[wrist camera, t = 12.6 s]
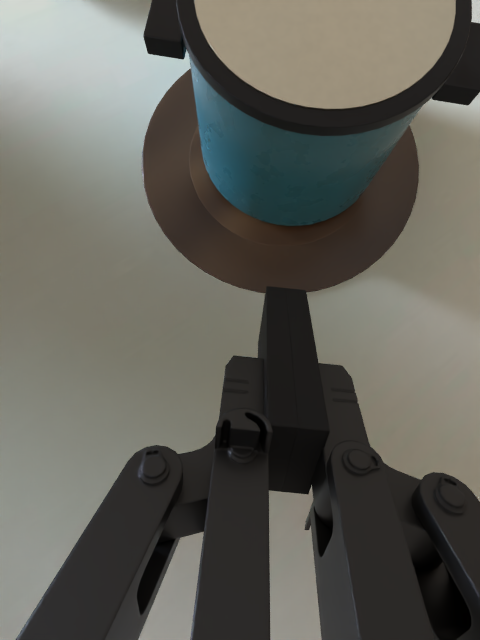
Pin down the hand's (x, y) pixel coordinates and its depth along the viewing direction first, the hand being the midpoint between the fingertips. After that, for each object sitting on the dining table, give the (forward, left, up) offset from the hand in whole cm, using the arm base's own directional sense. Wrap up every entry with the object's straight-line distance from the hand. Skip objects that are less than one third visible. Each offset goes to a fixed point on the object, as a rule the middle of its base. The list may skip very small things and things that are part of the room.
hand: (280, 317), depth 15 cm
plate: (-7, +11, -9) cm, 16 cm away
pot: (-7, +12, -9) cm, 16 cm away
